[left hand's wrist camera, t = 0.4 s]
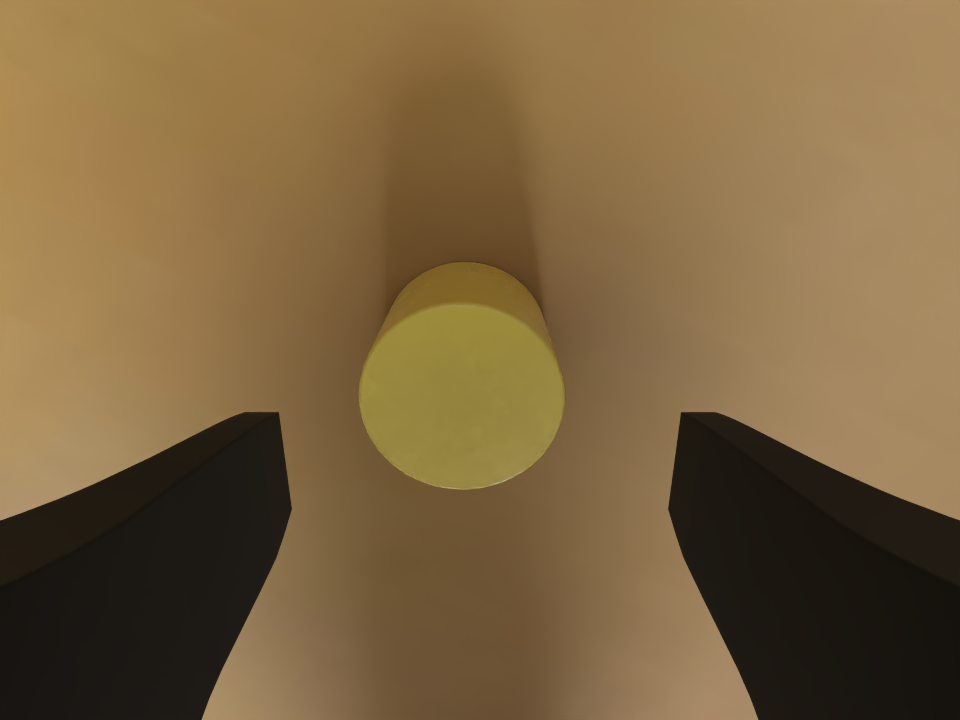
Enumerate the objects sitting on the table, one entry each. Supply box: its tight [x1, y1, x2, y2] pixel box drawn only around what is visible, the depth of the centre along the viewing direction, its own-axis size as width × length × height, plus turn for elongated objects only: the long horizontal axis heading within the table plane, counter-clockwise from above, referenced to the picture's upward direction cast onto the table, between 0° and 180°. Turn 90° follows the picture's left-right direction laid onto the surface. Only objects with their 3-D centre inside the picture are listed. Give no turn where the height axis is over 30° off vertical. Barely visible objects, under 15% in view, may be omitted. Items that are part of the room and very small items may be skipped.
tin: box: [358, 262, 565, 490], centre depth 16 cm, size 5×5×4 cm
